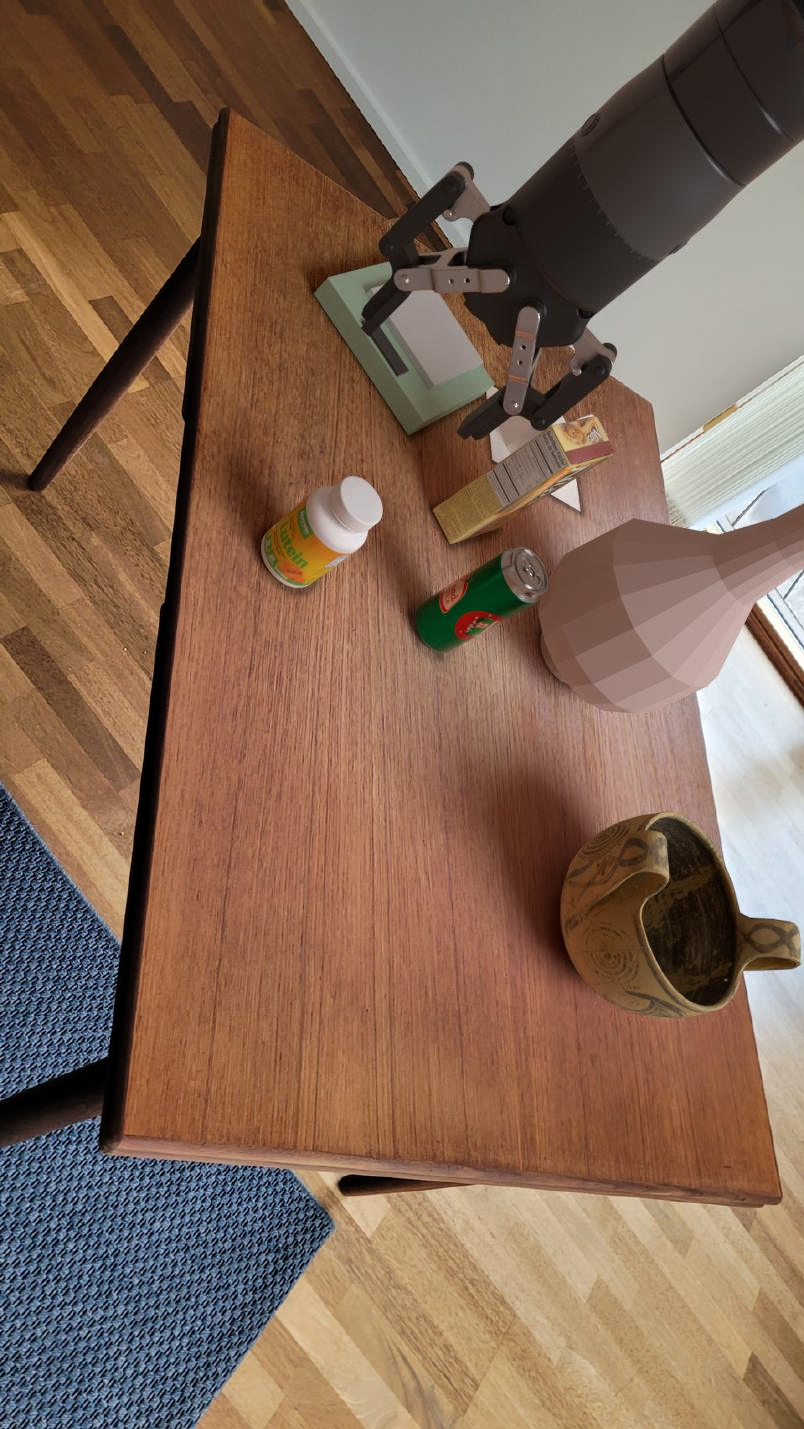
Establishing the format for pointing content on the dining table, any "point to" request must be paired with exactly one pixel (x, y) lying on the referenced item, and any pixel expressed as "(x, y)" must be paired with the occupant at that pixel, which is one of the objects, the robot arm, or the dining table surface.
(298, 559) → the supplement bottle
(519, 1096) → the dining table surface
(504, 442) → the napkin holder
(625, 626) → the vase
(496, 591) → the soda can
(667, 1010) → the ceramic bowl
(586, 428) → the candy box
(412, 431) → the scale
